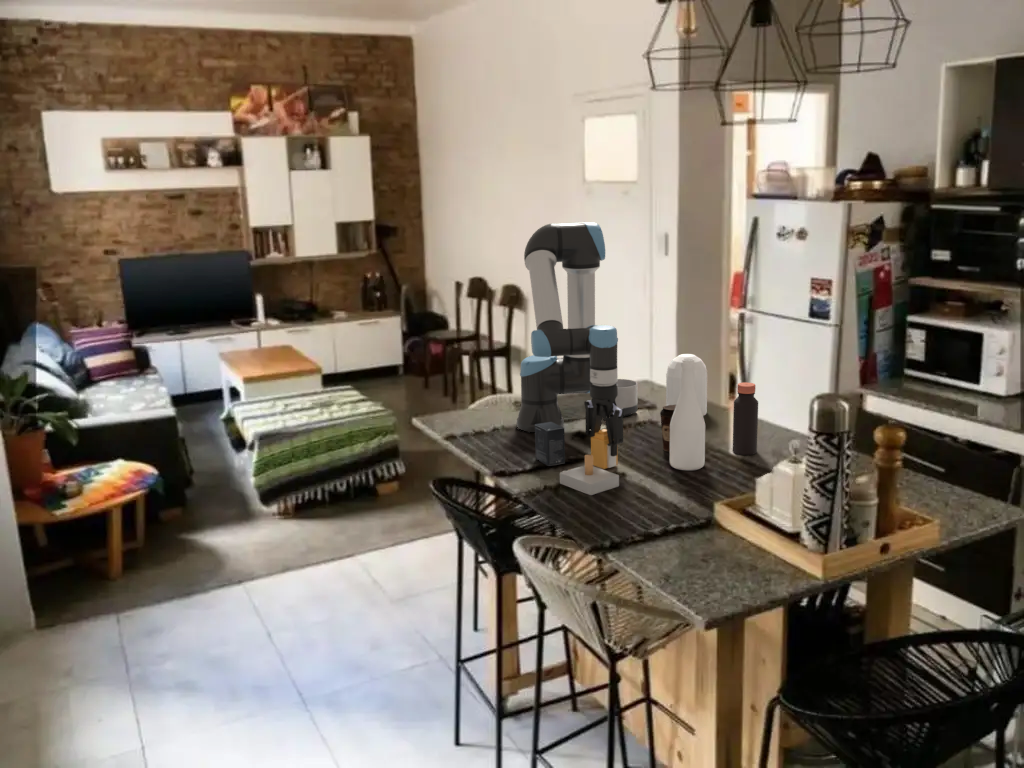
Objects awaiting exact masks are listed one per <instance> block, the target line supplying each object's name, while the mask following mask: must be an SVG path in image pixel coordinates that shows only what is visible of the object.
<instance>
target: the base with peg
mask: <svg viewBox="0 0 1024 768" xmlns="http://www.w3.org/2000/svg"><path fill="white" fill-rule="evenodd" d="M559 484H560V485H563V486H566V487H568V488H570V489H574V490H576V491H579V492H581V493H584V494H586V495H588V496H593V495H595V494H599V493H602V492H606V491H608V490H611V489H615V488H618V487H619V486H620V475H619V474H616V473H613V472H611V471H608V470H606V469H602V468H599V467H597V466H594V465H593V455H591V453H590V454H585V455H584V464H583V465H581V466H578V467H574V468H568V469H565V470H563V471H561V472H559Z"/></svg>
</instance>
